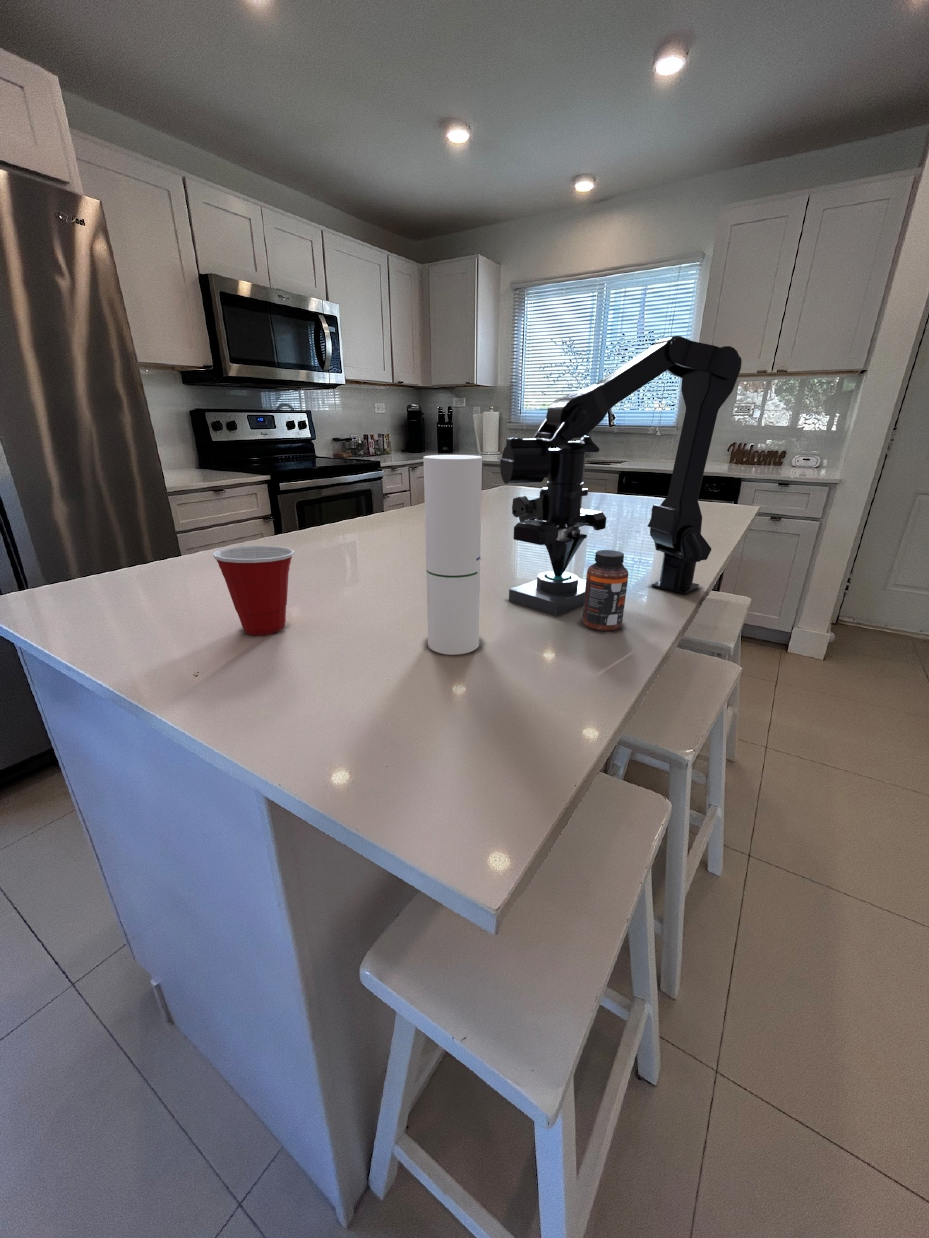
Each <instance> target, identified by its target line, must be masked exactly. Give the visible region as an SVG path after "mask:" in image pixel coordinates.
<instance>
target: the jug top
mask: <svg viewBox="0 0 929 1238" xmlns="http://www.w3.org/2000/svg"><path fill="white" fill-rule="evenodd" d="M552 572H554V571H553V570H548V571H547V570H546V571H542V572H540V573H538V574H537V576H536V579H534V580H531V581H529V582H526V583H523V584H520V585H517V586H514V587H511V588H509V589H508V602H511V603H514V604H518V605H521V606H524V607H527V608H530V609H533V610H537V611H539V612H543V613H546V614H550V615H553V616H556V617H557V616H559V615H561V614H564V613H567V612H569V611H571V610H573V609H575V608H578V607H581V606H583V605H584V596H585V586H586V579H585V578H580V577H579V576H578V575H577V574H575V573H573V572H568V571H564V573H565V574H568V575H569V576H570V579H569V580H563V581H557V580H550V579H547V578H546V575H547V574H548V573H552Z"/></svg>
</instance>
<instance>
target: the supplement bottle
mask: <svg viewBox="0 0 929 1238" xmlns="http://www.w3.org/2000/svg"><path fill="white" fill-rule="evenodd" d="M624 557H625V554H624V553H623V552H622V551H619V550H614V549H613V550H612V549H601V550H597V551H596V552H595V556H594V561H595V563H593V564H591V565H589V567H587V571H586V577H585V580H586V586H585V596H584V604H583V605H582V607H583V608H582V617H581V618H582V619H581V620H582V623H583V625H585V626H586V627H587V628H590V629H591V630H596V631H601V632H602V631H603V632H610V631H616V630H618V629H620V628H621V627H622V624H623V621H624V620H623V619H624V613H625V604H626V598H627V591H628V590H627V589H628V581H629V570H628V568H626V567H625V566H624V560H625V559H624Z"/></svg>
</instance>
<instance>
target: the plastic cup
mask: <svg viewBox="0 0 929 1238" xmlns="http://www.w3.org/2000/svg"><path fill="white" fill-rule="evenodd" d="M295 552H296V551H295V550H293V549H292V548H289V547H285V546H275V545H246V546H245V545H244V546H235V547H227V548H222V549H217V550H215V551H213V552H212V556H213V558H214V560H216V562H217V564H218V567H219V570H220V571H221V574H222V577H223V579H224V581H225V584H226V587H227V590H228V593H229V596H230V598H231V601H232V604H233V606H234V608H235V612H236V614H237V616H238V619H239V621H240V622H239V623H240V625H241V627H242V629H243V630H244V632H245V634H248V635H251V636H265V635H271V634H274V633H278V632H280V631H282V630H283V629H284V627H285V626H286V621H287V620H286V617H287V605H288V591H289V589H288V588H289V573H290V569H291V563H292V558H293V556H294V555H295Z"/></svg>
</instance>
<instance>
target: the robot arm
mask: <svg viewBox="0 0 929 1238" xmlns="http://www.w3.org/2000/svg"><path fill="white" fill-rule="evenodd" d="M742 361H743V359H742V357H741V356H740V354H739V352H738V350H737V349H736V348H735V347H733V346H730V345H725V346H717V345H714V344H708V343H703V342H699V341H694V340H691V339H688V338H686V337H684V336H681V335H672V336H668V337H664V338H663V337H662V338H660V339H659V340H657V341H655V342H654V344H653V345H652V346H650V347H649V348H647V349H645V350H644V351H643V352H641V353H639V354H638V355H637V356H635V357H634V358H632V359H631V360H629V361H627V362H626V363H625V364H623V365H622V366H620V367H618V368H617V369H615V370H614V371H612V372H610V374H608V375H607V376H605V377H603V379H600V380H599V381H598V382H596V383H594V384H592V385H590V386H586V387H585V388H582V389H579V390H575V391H573V392H571V393H568V394H566V395H563V396H562V397H559V398H556V399H555V400H554V401H552V402H551V403H550V404H549V405H548V407H547V410H546V411H547V412H546V415H545V419H544V421H543V422H542V423H541V425H540V426H539V428H538V429H537V430H536V432H535V434H534V435H533V436H532V438H520V437H507V438H506V441H505V446H504V448H503V451H502V455H501V458H500V459H499V462H500V463H499V471H500V476H501V480H502V482H503V483H504V484H505V485H516V484H518V485H519V484H520V485H521V484H524V485H525V484H541V483H542V482H543V481H544V480H545V479H547V481H546V487H542V488H541V489H540V491H539V497H537V498H533V499H532V498H531V499H529V498H528V497H527V495H520V496H517V497H513V499H512V505H511V514H512V516H513V517H514V518H518V520H519V521H518V522H517V523H516V524H515V525H514V526H513V536H512V537H513V540H514V541H519V542H523V543H528V544H534V545H537V546H545V548H546V549H547V550H546V551H547V553H548V556H549V560H550V564H551V567H552V571H554V575H556V576H561V575H563V573H564V572H566V569H567V568H568V566H569V565H570V563H571V561H572V559H573V558H574V556H575V554H576V552H577V551H578V549H579V548H580V547H581V546H582V543H583V542H584V540H585V539H587V537H588V535H587V534H585V533H581V529H580V527H585V526H587V527H592V528H593V529H594V531H602V530H605V529H606V527H607V516H606V515H605V513H604V512H603V511H600V510H599V511H598V510H593V509H584V508H582V503H583V497H586V496H588V495H589V489H588V488H584V481H585V480H584V479H585V469H586V468H585V467H586V457H587V454H591V453H592V454H593V453H595V454H596V453H599V452H600V447H598V445H597V444H596V443H595V442H593V440H592V437H591V436H587V435H589V434H590V433H591V432H592V431H593V430H594V429H595V428H596V427H597V426H598V425H599V424H601V422H603V421H604V419H605V417H606V416H607V415H608V414H609V411H611V410H612V408H613V407H614V406H615V405H617V404H619V403H620V402H622V401H624V400H625V399H626V398H628V397H629V396H630V395H632V394H634V393H635V392H636V391H638V390H640V389H641V388H643V387H644V386H646V385H647V384H649V383H650V382H652V381H653V380H655V379H656V378H658V377H659V376H661V375H663V374H664V373H665V372H668V373H669V374H670V375H671V376H675V377H676V378H680V379H681V389H680V390H681V394H682V398H683V402H684V406H685V412H684V417H683V422H682V425H681V431H680V436H679V440H678V445H677V450H676V455H675V459H674V465H673V469H672V473H671V479H670V483H669V486H668V487H669V488H668V493H667V496H666V497H665V498H664V500H662V502H661V503H660V505H658V504H656V503H655V504H653V505H652V507H651V515H650V519H649V522H648V524H647V528H649V536H650V538H651V539H652V540H653V543H654V547H655V550H656V552H657V551H658V552H661V553H663V556H662V562H661V570H660V575H659V580H657V581H655V582H652V583H651V587H652V588H657V589H660V590H664V591H668V592H672V593H673V592H674V593H678V594H682V595H686V594H688V593H691V592H692V591H695V590H696V589H698V588H699V587H700V584H699V583H696V582H694V578H695V573H696V567H697V563H700V562H701V561H707V560H708V558H709V556H710V554H711V552H712V546H710V544H709V542H707V540H706V539H705V537H704V536H703V535H702V525H703V514H702V511H701V506H700V504H699V494H700V491H701V487H702V483H703V478H704V473H705V469H706V464H707V461H708V457H709V453H710V452H709V451H710V447H711V444H712V440H713V435H714V431H715V426H716V422H717V419H718V414H719V411H720V409H721V407H722V406H723V405H724V403H725V402H726V401H727V399H728V398H730V395H731V394H732V393H733V392H734V389H735V386H736V383H737V382H738V378H739V376H740V373H741V370H742V363H743V362H742ZM573 439H579V440H576V441H574V440H573ZM572 440H573V441H572ZM551 446H558V447H556V448H555V447H553V448H551Z"/></svg>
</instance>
